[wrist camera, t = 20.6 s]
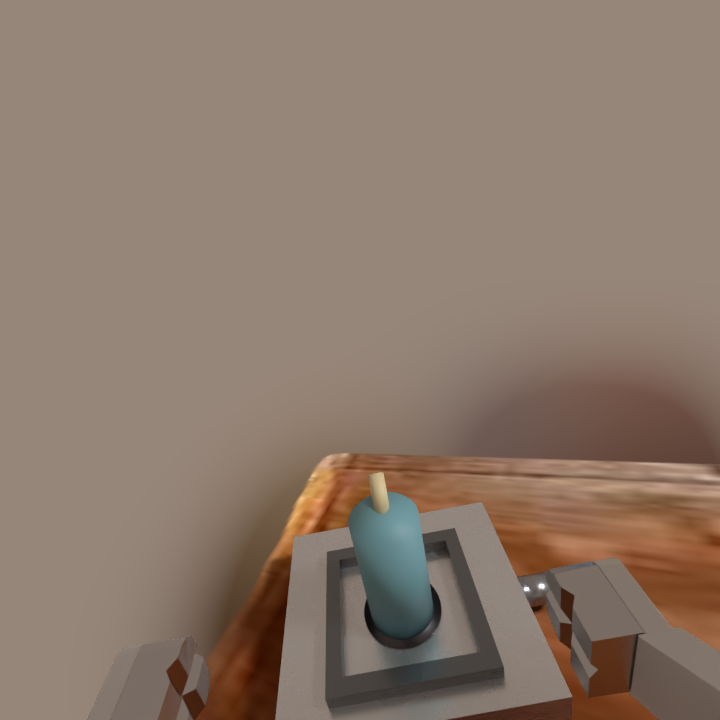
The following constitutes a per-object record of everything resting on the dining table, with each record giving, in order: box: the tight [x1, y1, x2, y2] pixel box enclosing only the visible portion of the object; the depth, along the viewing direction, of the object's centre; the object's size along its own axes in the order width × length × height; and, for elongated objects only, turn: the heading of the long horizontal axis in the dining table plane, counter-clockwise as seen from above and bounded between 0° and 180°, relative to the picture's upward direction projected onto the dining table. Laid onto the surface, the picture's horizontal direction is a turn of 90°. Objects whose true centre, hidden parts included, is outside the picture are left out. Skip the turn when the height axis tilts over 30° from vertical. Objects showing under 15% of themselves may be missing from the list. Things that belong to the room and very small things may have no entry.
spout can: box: [348, 473, 434, 640], centre depth 33 cm, size 5×6×12 cm
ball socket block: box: [275, 502, 573, 720], centre depth 36 cm, size 23×18×5 cm
